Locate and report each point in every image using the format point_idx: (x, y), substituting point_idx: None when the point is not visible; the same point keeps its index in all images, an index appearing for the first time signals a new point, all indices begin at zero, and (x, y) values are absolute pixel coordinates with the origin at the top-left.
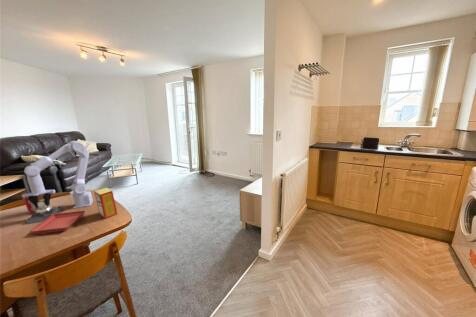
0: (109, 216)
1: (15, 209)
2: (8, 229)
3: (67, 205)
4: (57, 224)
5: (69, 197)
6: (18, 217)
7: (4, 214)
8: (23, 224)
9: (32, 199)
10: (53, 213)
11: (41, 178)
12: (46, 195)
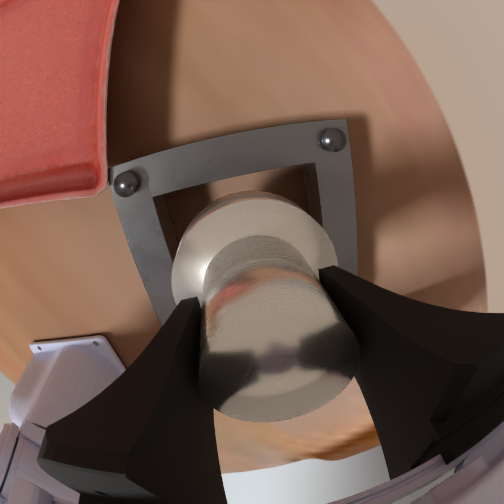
0: None
1: None
2: (411, 80)
3: None
4: (24, 59)
5: (273, 447)
6: (442, 265)
7: (487, 307)
8: (359, 123)
9: (441, 350)
10: (130, 216)
11: None
12: (65, 475)
